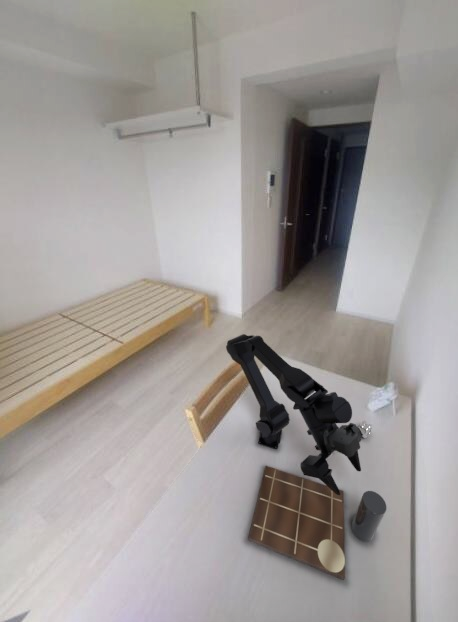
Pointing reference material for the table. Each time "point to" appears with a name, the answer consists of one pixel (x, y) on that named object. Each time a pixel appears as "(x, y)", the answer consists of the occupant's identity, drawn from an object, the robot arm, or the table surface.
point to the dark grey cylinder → (368, 516)
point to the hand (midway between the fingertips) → (349, 482)
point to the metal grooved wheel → (365, 429)
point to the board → (300, 521)
